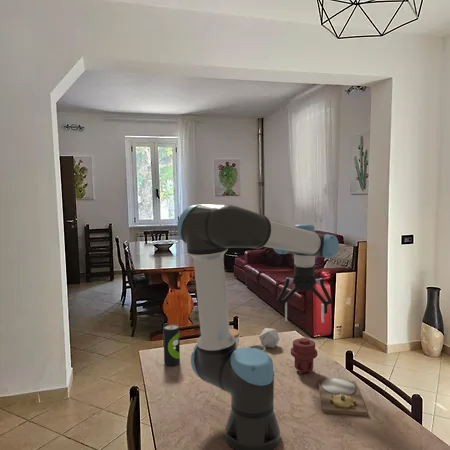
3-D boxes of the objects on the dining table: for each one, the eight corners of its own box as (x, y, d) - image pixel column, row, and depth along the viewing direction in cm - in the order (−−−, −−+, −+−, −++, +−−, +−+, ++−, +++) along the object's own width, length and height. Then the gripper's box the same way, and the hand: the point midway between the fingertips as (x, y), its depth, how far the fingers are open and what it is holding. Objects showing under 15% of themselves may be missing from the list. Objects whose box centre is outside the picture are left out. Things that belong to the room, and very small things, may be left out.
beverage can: (164, 360, 157) (163, 324, 156) (179, 359, 159) (178, 323, 157) (164, 367, 151) (163, 330, 150) (180, 365, 152) (179, 328, 151)
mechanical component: (289, 365, 152) (315, 366, 151) (291, 376, 142) (319, 377, 141) (289, 334, 151) (315, 335, 150) (291, 344, 142) (319, 345, 141)
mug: (268, 366, 152) (268, 349, 151) (254, 369, 149) (254, 352, 148) (255, 356, 161) (255, 341, 160) (241, 360, 158) (241, 344, 157)
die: (258, 344, 176) (254, 332, 170) (272, 332, 179) (268, 320, 173) (269, 355, 170) (266, 343, 164) (284, 343, 173) (281, 331, 167)
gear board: (367, 416, 117) (367, 405, 116) (323, 412, 119) (323, 402, 118) (355, 384, 136) (355, 375, 136) (317, 381, 138) (317, 372, 138)
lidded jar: (211, 346, 172) (211, 326, 171) (234, 343, 175) (234, 323, 175) (220, 356, 162) (219, 334, 161) (243, 352, 165) (243, 330, 165)
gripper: (337, 264, 146) (337, 319, 147) (271, 263, 150) (271, 316, 151) (340, 267, 138) (339, 325, 140) (270, 266, 142) (270, 323, 144)
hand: (304, 321), depth 146 cm, fingers open, 13 cm apart
